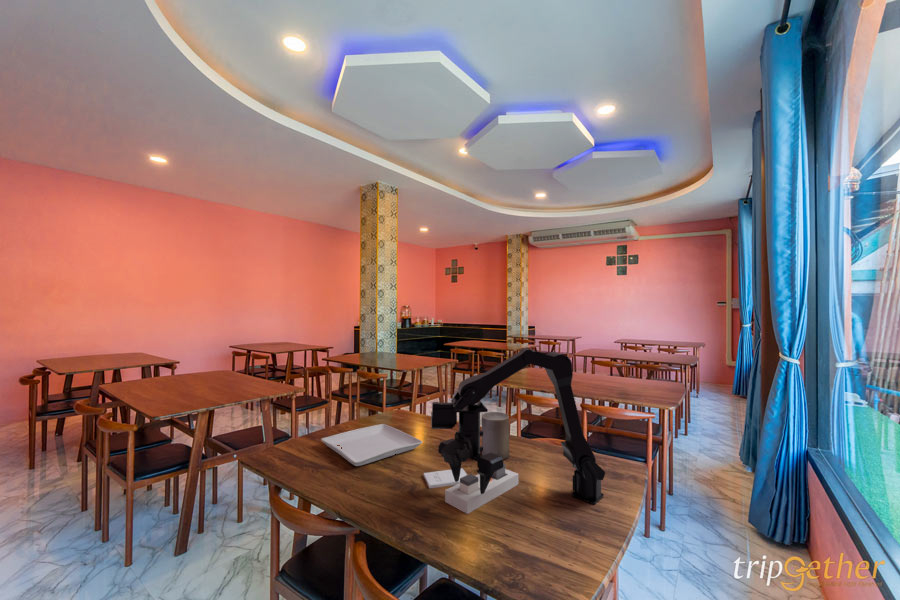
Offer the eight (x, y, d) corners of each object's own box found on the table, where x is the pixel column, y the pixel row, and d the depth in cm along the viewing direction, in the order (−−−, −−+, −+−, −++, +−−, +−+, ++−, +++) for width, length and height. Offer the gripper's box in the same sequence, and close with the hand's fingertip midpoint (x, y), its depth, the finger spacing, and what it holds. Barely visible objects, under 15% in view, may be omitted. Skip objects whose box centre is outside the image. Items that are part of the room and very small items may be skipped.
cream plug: (478, 500, 96) (478, 477, 96) (468, 505, 93) (468, 482, 93) (470, 496, 98) (470, 473, 98) (459, 501, 95) (459, 478, 95)
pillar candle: (510, 451, 129) (510, 409, 130) (508, 462, 120) (507, 416, 120) (483, 448, 131) (483, 407, 132) (479, 459, 122) (478, 414, 123)
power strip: (518, 484, 104) (518, 471, 105) (467, 514, 89) (467, 499, 89) (496, 475, 110) (496, 463, 110) (444, 501, 95) (445, 487, 95)
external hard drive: (470, 484, 105) (429, 490, 102) (462, 472, 113) (423, 477, 110) (470, 479, 105) (429, 484, 102) (462, 467, 113) (423, 472, 110)
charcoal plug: (505, 484, 104) (505, 464, 104) (496, 489, 101) (496, 468, 101) (497, 481, 106) (497, 460, 106) (488, 486, 103) (488, 464, 104)
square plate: (319, 448, 132) (319, 437, 132) (383, 431, 150) (383, 422, 150) (354, 473, 112) (354, 460, 112) (423, 450, 130) (423, 440, 130)
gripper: (423, 426, 97) (423, 485, 96) (475, 445, 84) (475, 513, 83) (452, 418, 105) (452, 472, 104) (504, 433, 91) (504, 496, 91)
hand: (469, 487), depth 95 cm, fingers open, 9 cm apart
